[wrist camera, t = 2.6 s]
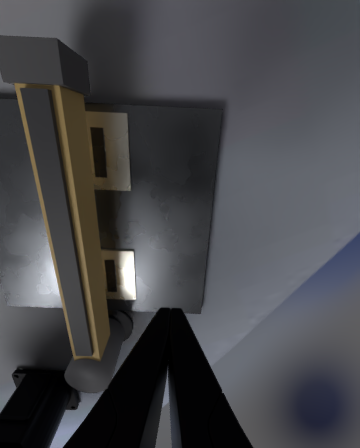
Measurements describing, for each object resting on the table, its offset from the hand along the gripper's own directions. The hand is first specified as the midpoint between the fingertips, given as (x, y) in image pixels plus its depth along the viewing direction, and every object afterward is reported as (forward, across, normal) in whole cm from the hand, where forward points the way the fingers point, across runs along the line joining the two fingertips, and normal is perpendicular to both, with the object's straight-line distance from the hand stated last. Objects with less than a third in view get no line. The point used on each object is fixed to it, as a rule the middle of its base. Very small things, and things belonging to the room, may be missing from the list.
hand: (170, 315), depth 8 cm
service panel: (+10, +6, +3) cm, 12 cm away
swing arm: (+9, +6, +2) cm, 11 cm away
